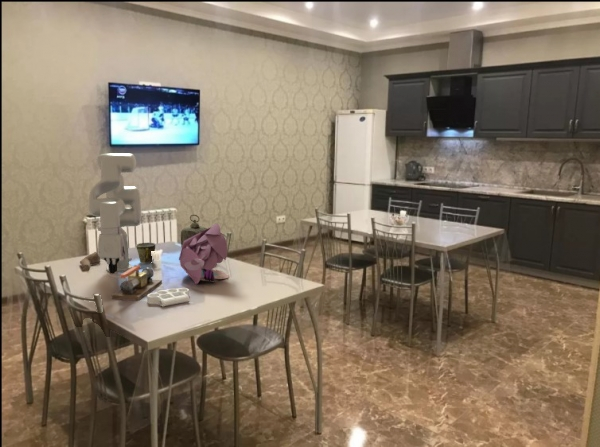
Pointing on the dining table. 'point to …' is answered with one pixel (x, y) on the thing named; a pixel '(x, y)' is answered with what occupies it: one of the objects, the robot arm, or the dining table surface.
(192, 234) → the tabletop clock
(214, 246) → the flower arrangement
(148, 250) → the ceramic cup
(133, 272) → the lever
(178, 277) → the dining table surface
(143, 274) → the water pipe
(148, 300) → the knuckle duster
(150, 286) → the valve board
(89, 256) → the pipe
